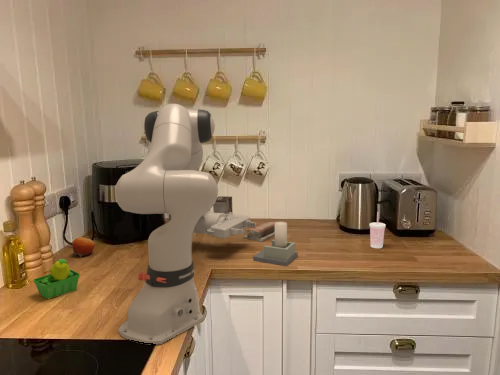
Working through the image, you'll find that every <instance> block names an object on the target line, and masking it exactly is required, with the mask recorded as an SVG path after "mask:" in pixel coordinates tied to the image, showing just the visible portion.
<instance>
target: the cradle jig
mask: <svg viewBox="0 0 500 375" xmlns="http://www.w3.org/2000/svg"><path fill="white" fill-rule="evenodd" d="M298 257H299V252H297V251H296V242H292V241H287V247H286V248H279V247H275V239H272V240H271V246H270V245H263V248H262V249H261V251H259V252H258V253H256V254H254V255H253V256H252V259H253V262H260V263H265V264H266V263H267V264H272V265H278V266H284V267H287V266H288V265H290V264H291V263H292V262H294V260H295V259H297V258H298Z"/></svg>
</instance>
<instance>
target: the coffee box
mask: <svg viewBox="0 0 500 375" xmlns="http://www.w3.org/2000/svg"><path fill="white" fill-rule="evenodd" d="M212 208H213V213H226V212H232V214H234V213H233V196H222V195H221V196H217V200H216V202H215V204H214V205H213V206H212Z"/></svg>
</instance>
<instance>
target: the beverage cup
mask: <svg viewBox="0 0 500 375" xmlns="http://www.w3.org/2000/svg"><path fill="white" fill-rule="evenodd" d="M376 213H377V214H376V222H369V225H368V226H369V230H370V231H369V233H370V234H369V236H370V238H369V239H370V247H371V248H373V249H381V248H383V247H384V246H383V245H384V237H385V230H386V225H387V224H385V223H383V222H379V215H380V214H379V211H377V212H376Z"/></svg>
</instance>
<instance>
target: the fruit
mask: <svg viewBox="0 0 500 375" xmlns="http://www.w3.org/2000/svg"><path fill="white" fill-rule="evenodd" d="M71 247H72V251H73V255H74V256H79V258H80V259H81V258H82V257H83V256H88V255H89V256H90V255H91V254H92V252H93V250H94V249H95V241H94V240H92V239H90V238H87V237H82V236H80V237H76V238H75V239H74V240H73V242H72V246H71Z"/></svg>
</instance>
